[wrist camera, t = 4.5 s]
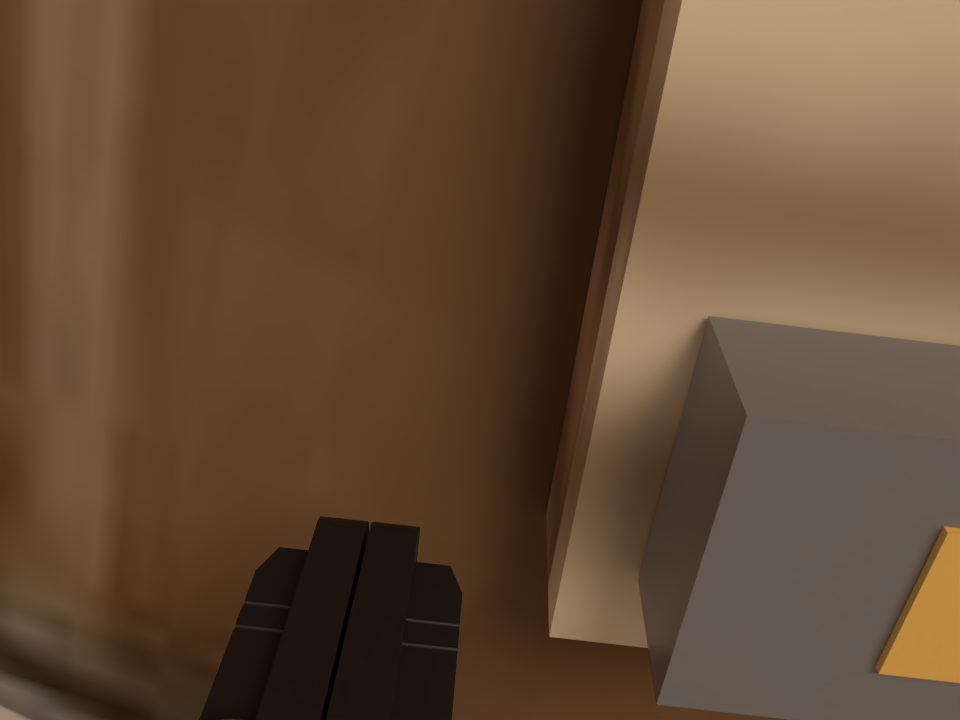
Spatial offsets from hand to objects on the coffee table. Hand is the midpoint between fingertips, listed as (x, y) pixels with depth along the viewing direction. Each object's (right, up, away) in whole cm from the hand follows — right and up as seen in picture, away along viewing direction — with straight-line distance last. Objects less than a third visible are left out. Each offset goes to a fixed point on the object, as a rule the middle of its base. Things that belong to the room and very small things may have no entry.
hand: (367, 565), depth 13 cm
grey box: (+9, +1, +3) cm, 9 cm away
